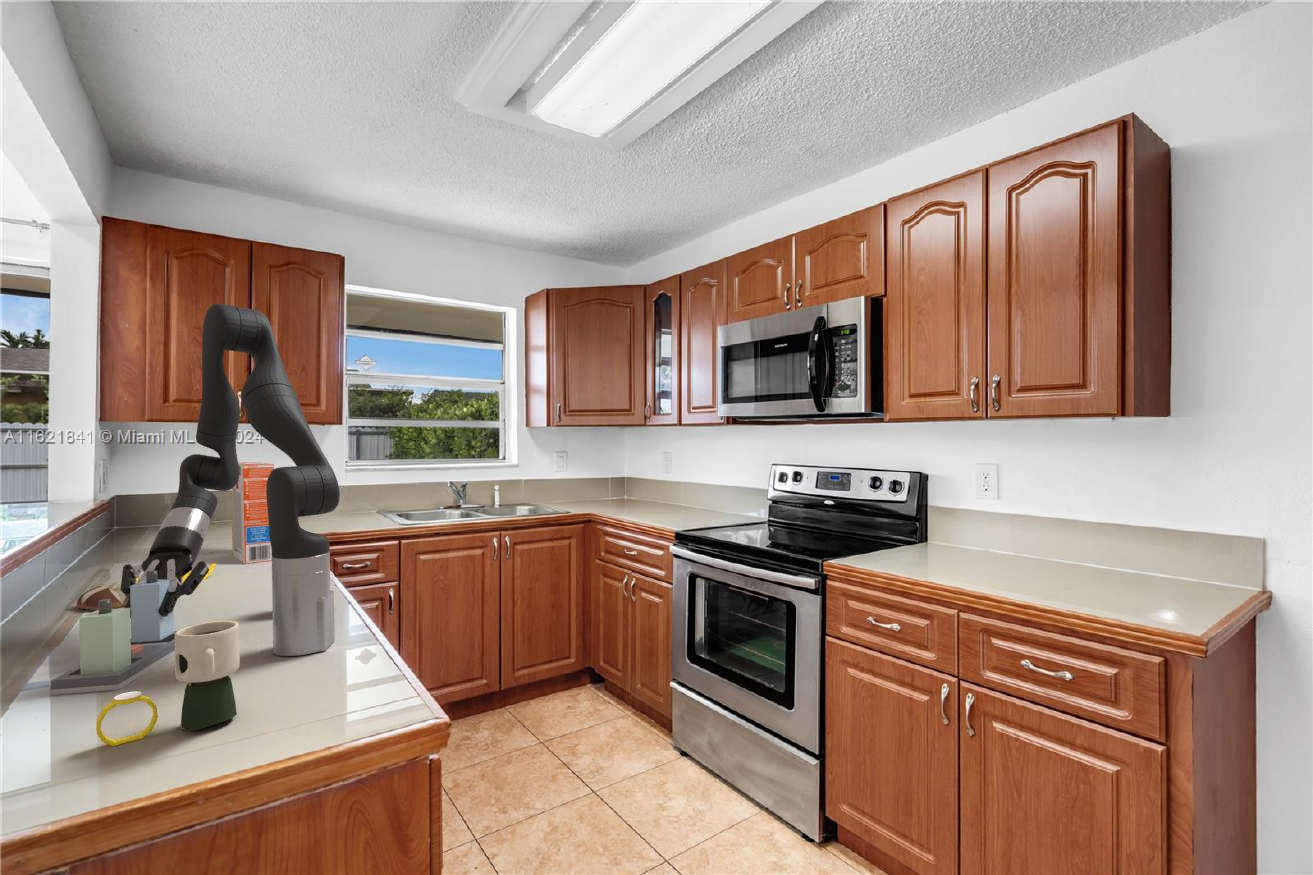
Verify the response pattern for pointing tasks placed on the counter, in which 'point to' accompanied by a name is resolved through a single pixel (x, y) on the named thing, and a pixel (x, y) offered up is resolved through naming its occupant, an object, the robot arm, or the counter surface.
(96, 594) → the bread
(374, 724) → the counter surface
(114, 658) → the green knobbed block
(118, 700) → the watch
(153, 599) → the plug
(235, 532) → the pasta box
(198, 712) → the character mug
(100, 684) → the grey rimmed tray
